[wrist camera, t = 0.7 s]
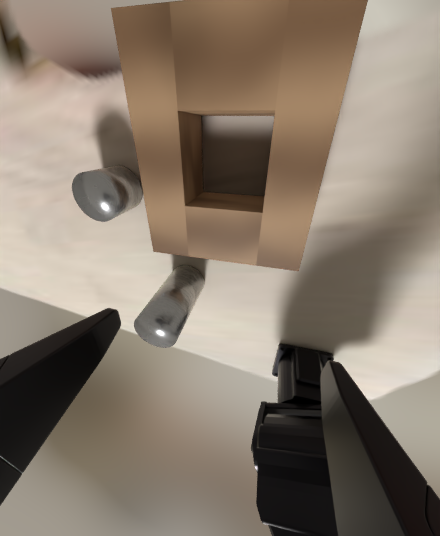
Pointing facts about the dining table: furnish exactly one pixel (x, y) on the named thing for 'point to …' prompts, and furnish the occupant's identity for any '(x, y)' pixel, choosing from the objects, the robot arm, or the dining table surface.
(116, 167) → the short pin
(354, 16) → the hole block
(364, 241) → the dining table surface
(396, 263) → the dining table surface
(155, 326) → the tall pin
